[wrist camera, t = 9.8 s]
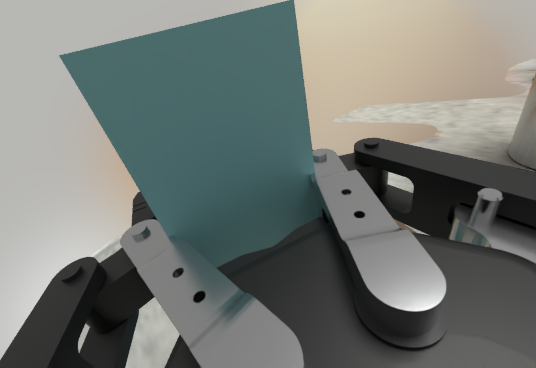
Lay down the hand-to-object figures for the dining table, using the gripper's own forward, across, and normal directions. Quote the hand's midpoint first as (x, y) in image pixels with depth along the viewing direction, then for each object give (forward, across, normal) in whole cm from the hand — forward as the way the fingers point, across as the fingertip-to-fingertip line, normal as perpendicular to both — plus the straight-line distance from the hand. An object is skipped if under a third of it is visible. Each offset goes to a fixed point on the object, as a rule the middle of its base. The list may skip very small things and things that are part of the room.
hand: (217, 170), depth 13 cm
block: (-3, 0, +8) cm, 8 cm away
